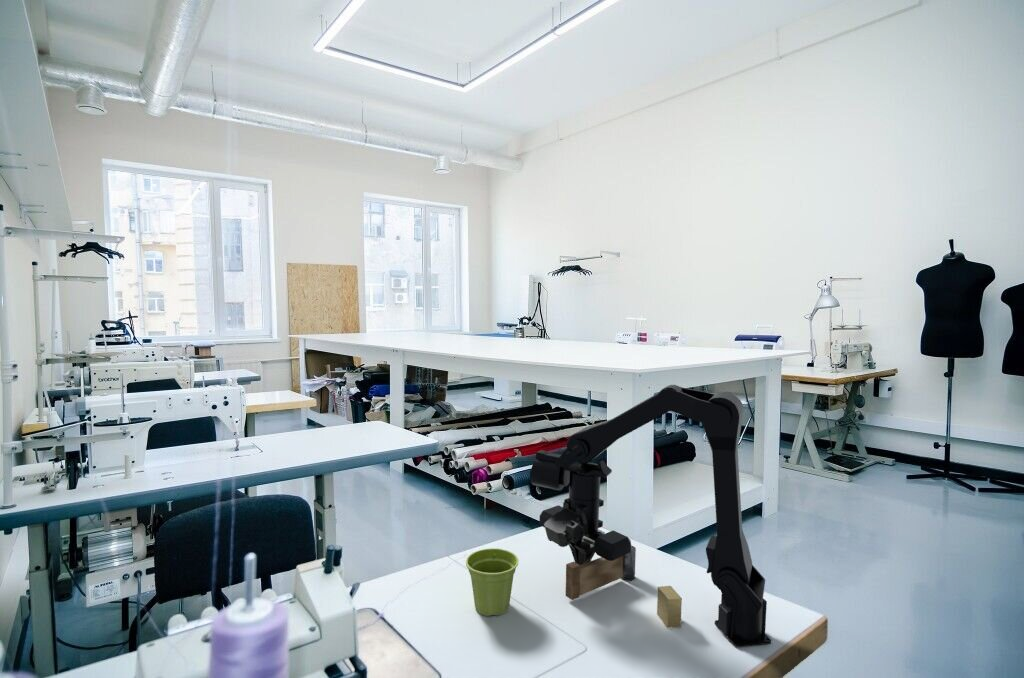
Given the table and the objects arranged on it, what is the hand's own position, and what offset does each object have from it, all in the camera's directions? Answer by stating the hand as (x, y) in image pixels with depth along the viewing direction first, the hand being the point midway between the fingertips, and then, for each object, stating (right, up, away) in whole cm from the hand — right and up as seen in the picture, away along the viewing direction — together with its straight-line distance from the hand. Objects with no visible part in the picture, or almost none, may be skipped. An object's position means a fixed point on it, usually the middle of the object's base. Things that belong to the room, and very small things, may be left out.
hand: (581, 573), depth 101 cm
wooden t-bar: (+3, -2, -1) cm, 3 cm away
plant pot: (-17, -3, -7) cm, 18 cm away
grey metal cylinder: (+10, -2, +4) cm, 11 cm away
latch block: (+14, -4, -10) cm, 17 cm away
